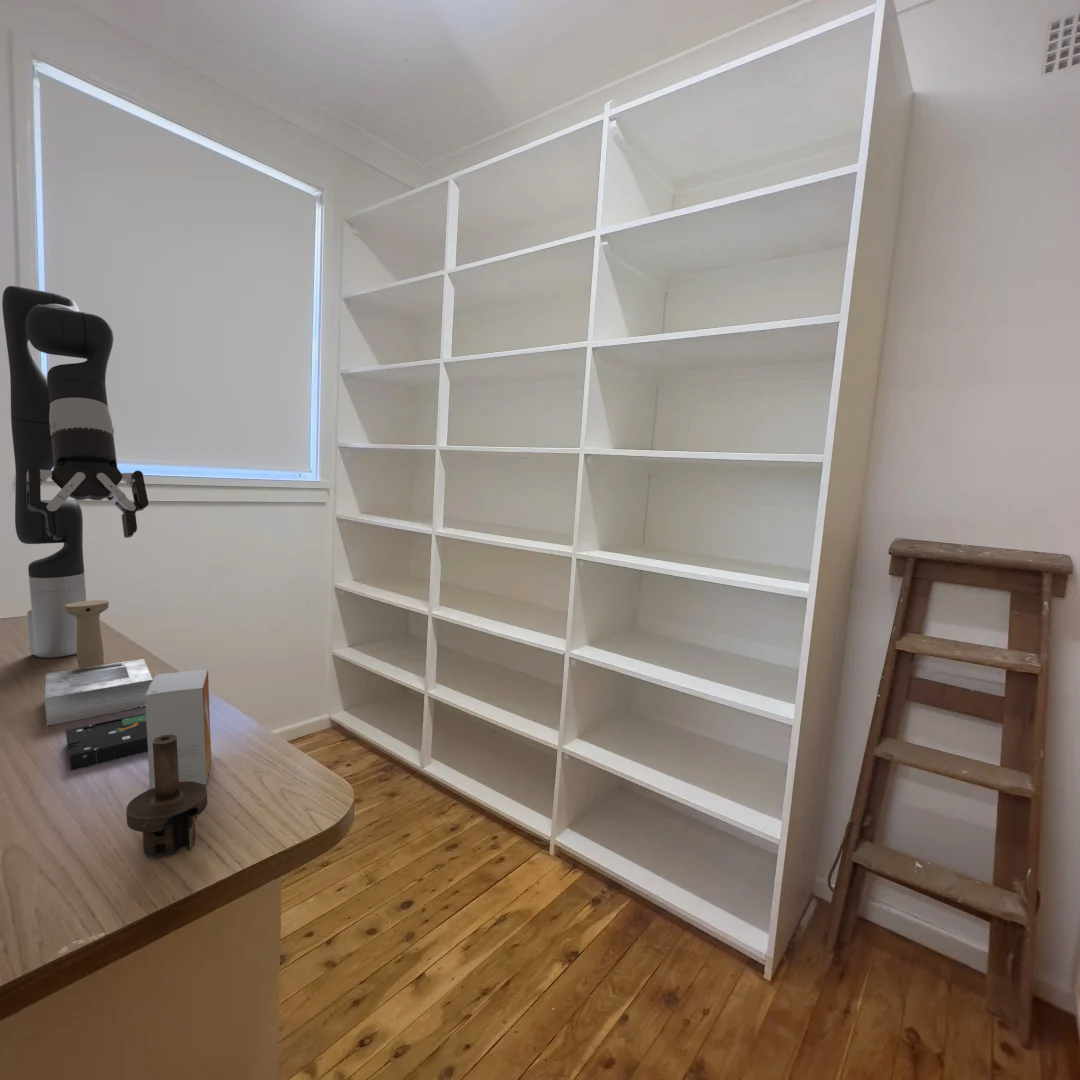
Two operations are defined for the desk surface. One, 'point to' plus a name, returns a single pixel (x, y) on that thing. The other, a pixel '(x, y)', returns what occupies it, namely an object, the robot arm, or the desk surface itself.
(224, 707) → the desk surface
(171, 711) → the small box
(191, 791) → the industrial component
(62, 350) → the robot arm
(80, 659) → the handle
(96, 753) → the disk drive
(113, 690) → the socket block
